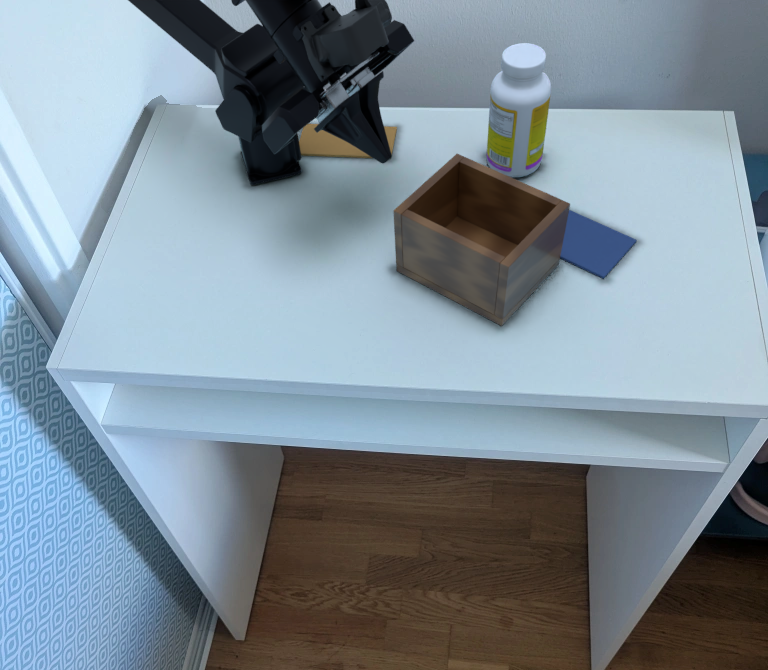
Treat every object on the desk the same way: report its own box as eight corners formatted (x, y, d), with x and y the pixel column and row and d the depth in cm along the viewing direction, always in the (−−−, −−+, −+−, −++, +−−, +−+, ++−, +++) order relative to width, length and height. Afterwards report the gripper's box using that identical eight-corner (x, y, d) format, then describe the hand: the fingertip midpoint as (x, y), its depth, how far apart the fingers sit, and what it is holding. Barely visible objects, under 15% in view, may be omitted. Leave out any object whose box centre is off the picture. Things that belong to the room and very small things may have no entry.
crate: (396, 270, 84) (393, 210, 77) (454, 215, 88) (456, 153, 81) (501, 326, 79) (508, 267, 72) (558, 265, 83) (570, 203, 76)
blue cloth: (510, 234, 86) (510, 232, 85) (544, 200, 88) (544, 198, 88) (603, 279, 82) (604, 276, 81) (636, 241, 84) (637, 239, 84)
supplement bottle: (538, 143, 93) (553, 35, 82) (543, 179, 90) (559, 71, 79) (484, 146, 94) (491, 38, 82) (487, 181, 90) (495, 74, 79)
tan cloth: (295, 155, 95) (295, 153, 94) (304, 125, 98) (304, 123, 97) (391, 159, 93) (390, 156, 93) (397, 128, 96) (397, 126, 96)
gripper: (260, 19, 64) (370, 181, 70) (396, -73, 71) (486, 81, 77) (217, 80, 74) (317, 218, 80) (341, -6, 80) (424, 127, 86)
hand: (387, 160), depth 80 cm, fingers closed
